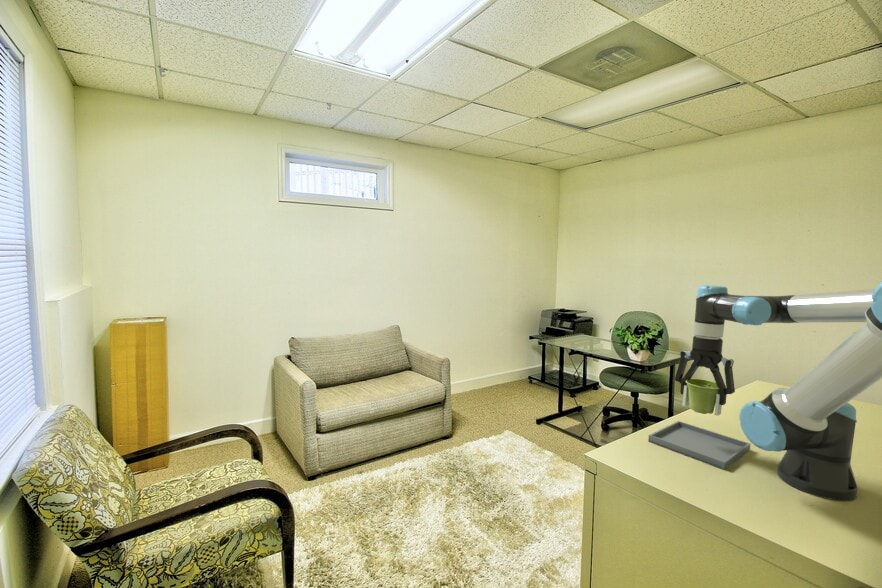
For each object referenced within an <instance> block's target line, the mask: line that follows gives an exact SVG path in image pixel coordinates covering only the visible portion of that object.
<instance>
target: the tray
mask: <svg viewBox="0 0 882 588" xmlns="http://www.w3.org/2000/svg"><path fill="white" fill-rule="evenodd" d="M647 439H648V440H647V441H648V443H651V444H654V445H656V446H659V447H662V448H664V449H667V450H670V451H673V452H675V453H678V454H679V455H682V456H686V457H688V458H691V459H694V460H697V461H699V462H702V463H703V464H706V465H707V464H708V465H710V466H713V467H714V468H717V469H720V470H723V471H725V470H726V469H728V468H729V467H730V466H731V465H733V464H734V463H735V462H737V461H738V460H739V459H741V458H743V456H744V455H746V454H747V453H749V452H750V451H751V445H752V443H751V442H750V443H749V442H746V441H743V440H739V439H737V438H734V437H731V436H727V435H724V434H721V433H717V432H715V431H711V430H708V429H705V428H702V427H699V426H696V425H693V424H690V423H686V422H683V421H681V420H677V421H675V422H673V423H671V424H669V425H667V426H665V427H663V428H660V429H659V430H657V431H654V432H652V433H650V434H648V438H647Z"/></svg>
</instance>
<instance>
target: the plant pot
mask: <svg viewBox="0 0 882 588" xmlns="http://www.w3.org/2000/svg"><path fill="white" fill-rule="evenodd" d="M686 383H687V387H688V392H689V405H688V406H689V409H690V410H692V411H693V412H695V413H698V414H703V415H707V414H710V415H712V414H713V413H714V412H715V405H716V394H717V393H719V388H718V387H717V384H716V382H715V381H713V380H709V379H702V378H691V379H690V380H686Z"/></svg>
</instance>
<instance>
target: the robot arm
mask: <svg viewBox="0 0 882 588" xmlns="http://www.w3.org/2000/svg"><path fill="white" fill-rule="evenodd" d="M728 291H729V290H728V287H726V286H722V285H707V284H705V285H703V284H702V285H700V286H698V288H697V292H696V293H697V294H696V298H695V313H694V314H695V315H694V325H693V335H694V336H693V337H692V346H691V350H690V351H689V350H688V351H687V350H682V351H680V352H679V353H680V354H679V355H680V360H679V363H678V367H677V370H676V373H675V377H674V381H675V382H678V383H679V384H680V391H679V392H680V395H682V396H683V397H682V403H681V404H682V405H681V406H683V407H687V406H690V405H689V392H688V387H687V383H686V380H690V379H692V377H694V374H695V373H696V372H697V370H698V368H699V367H701V368H703V367H704V368H706V369H709V371H710V372H711V375H712V376H713V379H714V382H716V384H717V387H718V388H719V393H717V394H716V404H715V408H714V416H717V417H718V416H720V415H721V414H722V408H723V407H722V406H725V405H726V403H727V397H728V395H732V394H734V393H735V392H736V388H735V381H734V372H733V371H734V370H733V366H734V363H735V361H734V359H732V358H731V359H729V358H725V357H723V354H722V353H723V345H724V344H723V343H724V341H723V339H722V338H723V337H724V332H725V321H729V322H734V323H739V324H742V325H750V326H761V325H763V324H769V323H770V324H794V323H795V324H798V323H802V324H803V323H804V324H805V323H806V324H807V323H864V324H863V325H862V326H861V327H859V328H858V329H857V330H856V331H854V332H853V333H852V334H851V335H850V336H849V337H848V338H846V339H845V340H844V341H843V342H842V343H840V345H838V346H836V347H835V348H834V349H833V350H832V351H831V352H830V353H829V354H827V355H826V356H825V357H824V358H823V359H822V360H820V361H819V362H818V363H816V365H814V366H813V367H812V368H811V369H809V371H807V372H806V373H805V374H804V375H803V376H801V377H800V378H798V380H797V381H795V382H794V383H793V384H792V385H790V386H789V387H788V388H787V387H779V388H775V389H774V390H773V391H772V392H771V393H769V394H768V395H767V396H765V398H764V399H762V400H760V401H756V400H754V401H750V402H748V403H745V404H744V405H743V406H742V408H741V409H740V412H739V418H738V419H739V421H740V424H739V425H740V427H741V430H742V432H743V434H744V435H745V437H746V438H747V439H748V441H749V442H750V444H751V445H754V447H756V448H758V449H760V450H762V451H767V452H777V453H778V452H783V451H784V455H783V457H782V458H781V460H780V461H779V463H778V465H777V471H776V472H777V476H778V477H779V478H780V479H781V480H782V481H784V482H785V483H786V484H787V485H789V486H791V487H794V488H796V489H797V490H800V491H802V492H804V493H807V494H811V495H814V496H816V497H820V498H824V499H827V500H828V499H829V500H835V501H841V502H842V501H845V502H849V501H853V500H855V499H857V498H858V497H857V496H858V483H857V481H856V479H855V478H856V477H855V475H854V471H853V468H852V465H851V461H852V453H853V447H854V446H853V445H854V438H855V429H856V424H857V420H858V419H857V410H856V407H854V406H853V405H852V404H851V403H849V402H851V400H853V399H855V398H856V397H857V396H858V395H860V394H861V393H863V392H864V391H866V390H867V389H868V388H869V387H871V386H873V385H874V384H875V383H877V382H879V381H880V380H881V379H882V281H881V282H880V283H879V284H877V286H876V287H875V288H872V289H862V290H861V289H858V290H847V291H833V292H832V291H831V292H819V293H805V294H791V295H789V294H788V295H773V296H772V295H768V296H767V295H738V294H729V292H728ZM690 357H691V358H692V359H693V362H692V363H691V365H690V367H689V369H688V370H687V372H686V373H685V371H686V366H687V364H688V360H689V358H690ZM720 363H722V366H724V368H723V369H724V370H723V371H724V377H725V381H724V379H723V376H722V373H721V371H720V366H719V364H720ZM684 374H685V375H684Z"/></svg>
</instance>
